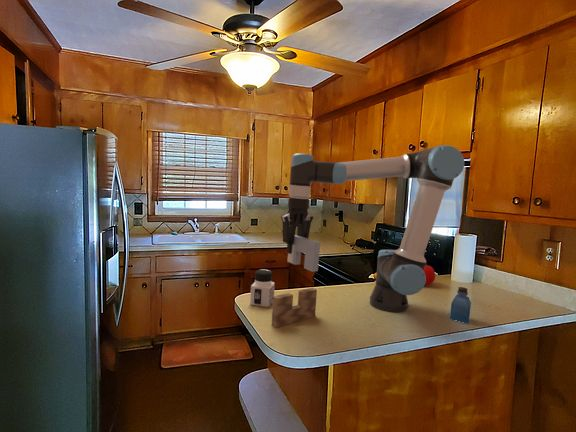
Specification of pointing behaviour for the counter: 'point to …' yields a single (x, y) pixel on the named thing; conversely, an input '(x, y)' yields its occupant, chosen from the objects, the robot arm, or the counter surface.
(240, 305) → the counter surface
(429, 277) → the tomato
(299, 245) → the arch block
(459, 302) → the perfume bottle
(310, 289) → the board
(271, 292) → the container
